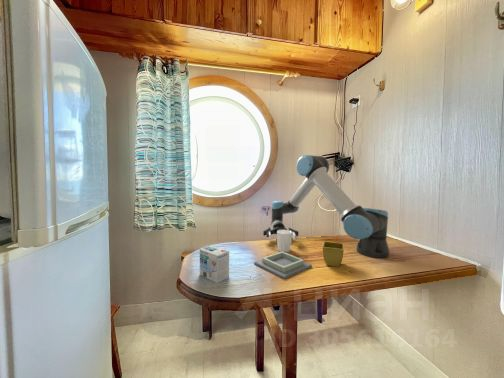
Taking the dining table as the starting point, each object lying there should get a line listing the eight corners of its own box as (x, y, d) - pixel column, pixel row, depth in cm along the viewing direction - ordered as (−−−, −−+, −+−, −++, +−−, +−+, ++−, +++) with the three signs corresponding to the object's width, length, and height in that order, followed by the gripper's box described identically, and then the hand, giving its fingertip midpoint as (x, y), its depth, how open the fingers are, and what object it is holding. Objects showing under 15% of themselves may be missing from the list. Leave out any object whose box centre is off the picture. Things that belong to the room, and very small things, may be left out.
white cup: (291, 253, 116) (291, 234, 115) (275, 252, 117) (276, 233, 116) (291, 248, 123) (292, 230, 122) (277, 247, 125) (277, 229, 124)
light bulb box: (199, 275, 91) (198, 248, 90) (212, 269, 96) (211, 244, 95) (217, 283, 84) (217, 255, 83) (229, 277, 89) (230, 250, 88)
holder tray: (311, 266, 99) (312, 260, 99) (284, 279, 88) (284, 271, 88) (281, 254, 113) (281, 249, 113) (254, 264, 102) (254, 257, 102)
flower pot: (321, 266, 100) (322, 246, 100) (323, 259, 108) (323, 240, 108) (342, 269, 97) (343, 249, 96) (342, 262, 105) (343, 243, 104)
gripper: (297, 233, 144) (305, 244, 123) (258, 232, 145) (259, 243, 124) (298, 222, 144) (305, 231, 123) (259, 221, 144) (259, 230, 123)
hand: (282, 237), depth 123 cm, fingers open, 13 cm apart
